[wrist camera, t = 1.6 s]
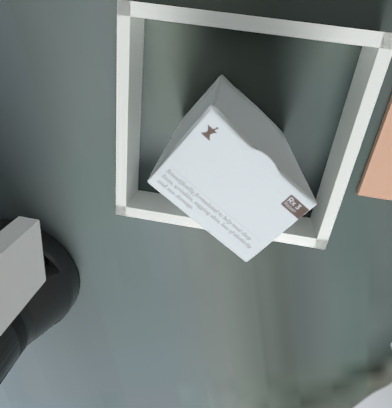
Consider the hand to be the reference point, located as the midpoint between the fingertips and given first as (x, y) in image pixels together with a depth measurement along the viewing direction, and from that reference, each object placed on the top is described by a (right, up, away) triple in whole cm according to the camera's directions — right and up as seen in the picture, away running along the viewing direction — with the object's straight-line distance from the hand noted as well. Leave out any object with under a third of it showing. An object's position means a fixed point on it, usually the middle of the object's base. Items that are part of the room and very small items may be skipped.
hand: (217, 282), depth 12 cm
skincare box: (+3, +10, +20) cm, 23 cm away
